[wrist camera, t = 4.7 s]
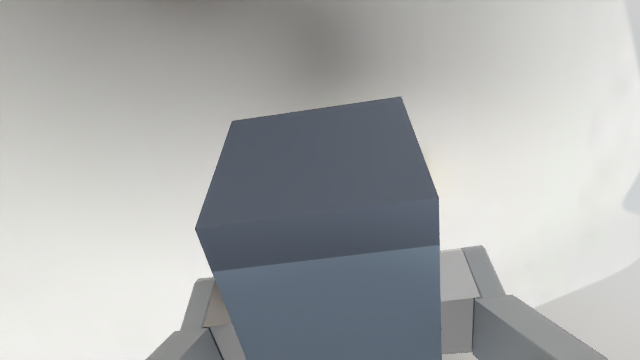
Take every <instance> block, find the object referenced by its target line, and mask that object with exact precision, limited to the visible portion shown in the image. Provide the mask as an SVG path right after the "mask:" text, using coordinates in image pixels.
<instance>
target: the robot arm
mask: <svg viewBox="0 0 640 360" xmlns="http://www.w3.org/2000/svg"><path fill="white" fill-rule="evenodd" d="M440 295H441V348H442V354H453V353H467V352H473V355H474V356H475V357H476V358H477V359H478V360H608V359H607V358H606V357H604V356H603V355H602V354H600V353H599V352H597V351H596V350H594V349H593V348H591V347H589V346H588V345H587V344H585V343H584V342H582V341H581V340H579V339H577V338H576V337H575V336H573V335H572V334H570V333H569V332H567V331H566V330H564V329H563V328H561V327H560V326H558V325H557V324H555V323H554V322H552V321H551V320H549V319H548V318H546V317H545V316H543V315H542V314H541V313H539V312H537V311H536V310H535V309H533V308H532V307H530V306H529V305H527V304H526V303H524V302H523V301H521V300H520V299H518V298H517V297H515V296H514V295H506V294H505V292H504V289H503V287H502V285H501V283H500V281H499V278H498V276H497V274H496V272H495V270H494V267H493V265H492V263H491V261H490V259H489V256H488V254H487V252H486V250H485V248H484V247H483V246H482V245H480V246H473V247H465V248H461V249H460V248H459V249H451V250H443V251H440ZM146 360H246V357H245V355H244V352H243V350H242V347H241V345H240V342H239V340H238V337H237V335H236V332H235V329H234V327H233V324H232V322H231V319H230V317H229V314H228V312H227V309H226V306H225V304H224V301H223V299H222V296H221V294H220V291H219V289H218V286H217V284H216V281H215V278H214V277H212V278H200V279H198V280H197V281H196V282H195V284H194V287H193V290H192V293H191V297H190V300H189V303H188V306H187V310H186V313H185V316H184V320H183V323H182V326H181V329H180V331H175V332H173V333H172V334H171V335H170V336H169V337H168V338H167V339H166V340H165V341H164V342H163V343H162V344H161V345H160V346H159V347H158V348H157V349H156V350H155V351H154V352H153V353H152V354H151V355H150V356H149V357H148V358H147V359H146Z"/></svg>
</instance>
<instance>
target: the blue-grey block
mask: <svg viewBox="0 0 640 360" xmlns="http://www.w3.org/2000/svg"><path fill="white" fill-rule="evenodd" d="M195 230H196V232H197V235H198V238H199V240H200V243H201V245H202V248H203V250H204V253H205V255H206V258H207V261H208V263H209V266H210V268H211V271H212V273H213V276H214V278H215V281H216V284H217V286H218V289H219V291H220V294H221V296H222V299H223V301H224V304H225V306H226V309H227V312H228V314H229V317H230V319H231V322H232V324H233V327H234V329H235V332H236V335H237V337H238V340H239V342H240V345H241V347H242V350H243V352H244V355H245V357H246V360H442V348H441V295H440V242H439V197H438V195H437V192H436V189H435V187H434V184H433V181H432V179H431V176H430V173H429V170H428V168H427V165H426V162H425V160H424V157H423V154H422V152H421V149H420V146H419V144H418V141H417V138H416V136H415V133H414V130H413V128H412V125H411V122H410V119H409V117H408V114H407V111H406V109H405V106H404V103H403V101H402V98H401V97H395V98H388V99H381V100H374V101H367V102H360V103H353V104H347V105H340V106H333V107H326V108H319V109H312V110H305V111H298V112H291V113H285V114H278V115H271V116H264V117H257V118H250V119H243V120H236V121H232V123H231V126H230V129H229V132H228V135H227V137H226V140H225V143H224V146H223V149H222V152H221V155H220V158H219V161H218V163H217V166H216V169H215V172H214V175H213V178H212V181H211V184H210V187H209V189H208V192H207V195H206V198H205V201H204V204H203V207H202V210H201V213H200V215H199V218H198V221H197V224H196V227H195Z"/></svg>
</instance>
